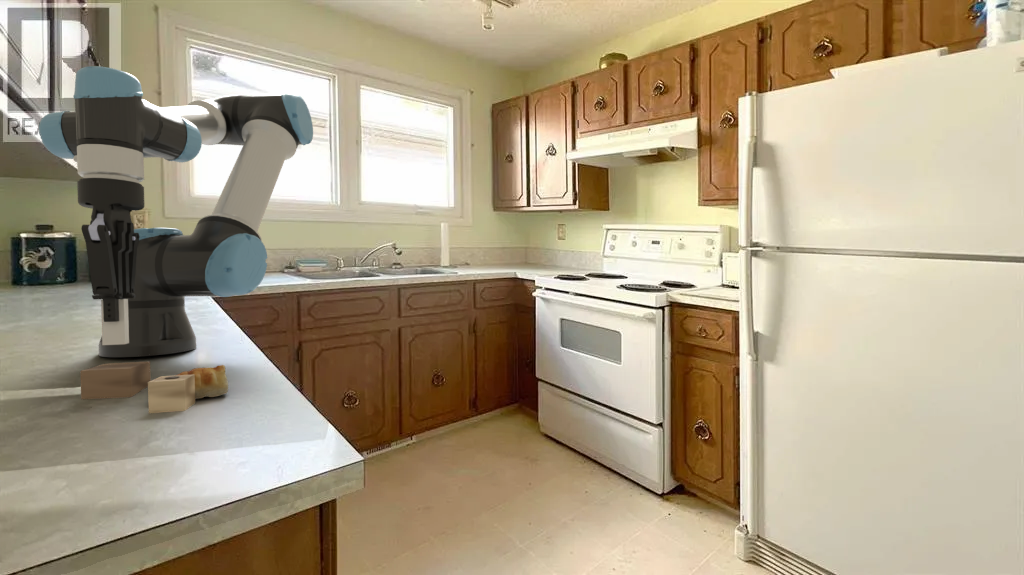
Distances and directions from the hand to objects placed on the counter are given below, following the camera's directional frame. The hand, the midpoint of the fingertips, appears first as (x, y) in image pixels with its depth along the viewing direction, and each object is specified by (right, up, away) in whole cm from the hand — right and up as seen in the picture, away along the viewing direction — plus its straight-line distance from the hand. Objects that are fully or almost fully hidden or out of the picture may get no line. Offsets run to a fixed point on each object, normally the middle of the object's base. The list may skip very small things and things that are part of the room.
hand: (115, 343), depth 72 cm
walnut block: (0, -8, 0) cm, 8 cm away
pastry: (+9, -8, -1) cm, 13 cm away
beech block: (+13, -8, -7) cm, 17 cm away
